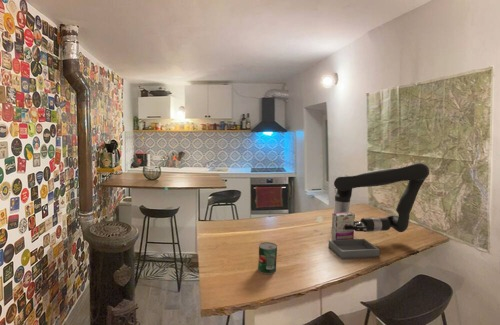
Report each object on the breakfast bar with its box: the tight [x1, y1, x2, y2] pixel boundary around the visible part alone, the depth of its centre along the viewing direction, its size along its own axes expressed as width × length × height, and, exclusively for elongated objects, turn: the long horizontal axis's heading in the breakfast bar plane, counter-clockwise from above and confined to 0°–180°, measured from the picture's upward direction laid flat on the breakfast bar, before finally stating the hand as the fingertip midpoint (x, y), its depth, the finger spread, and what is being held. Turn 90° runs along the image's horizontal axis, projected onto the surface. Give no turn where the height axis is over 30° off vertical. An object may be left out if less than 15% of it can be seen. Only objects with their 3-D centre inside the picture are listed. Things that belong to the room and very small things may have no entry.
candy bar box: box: [330, 211, 356, 240], centre depth 162 cm, size 11×5×16 cm, turn 105°
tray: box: [328, 238, 381, 260], centre depth 151 cm, size 14×20×4 cm
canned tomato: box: [257, 241, 278, 275], centre depth 129 cm, size 8×8×11 cm
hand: (342, 225), depth 162 cm, fingers closed on candy bar box, 5 cm apart
